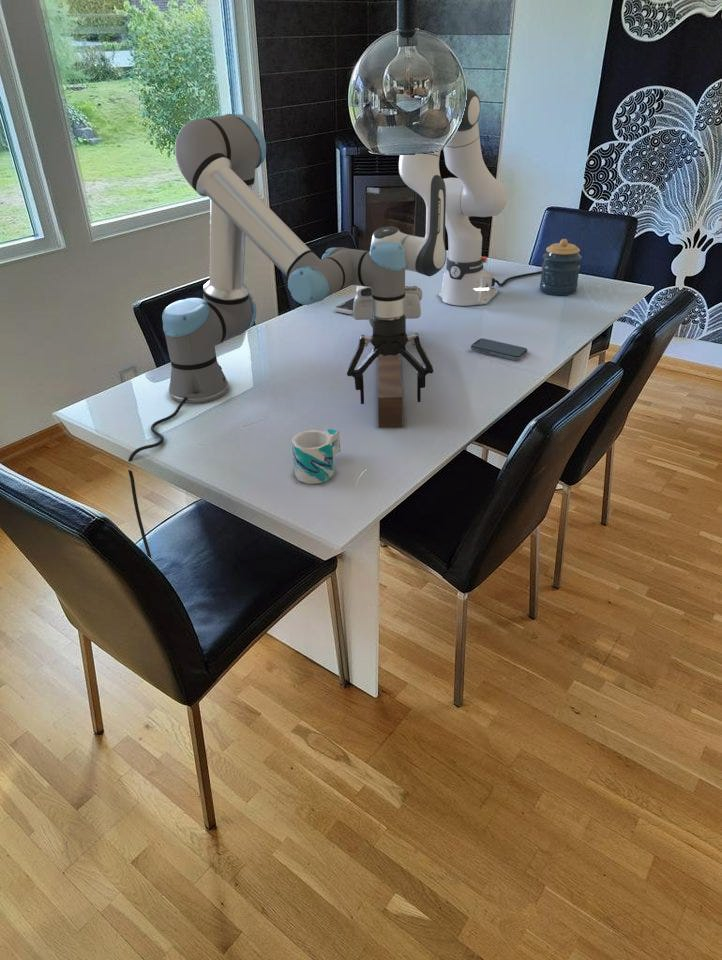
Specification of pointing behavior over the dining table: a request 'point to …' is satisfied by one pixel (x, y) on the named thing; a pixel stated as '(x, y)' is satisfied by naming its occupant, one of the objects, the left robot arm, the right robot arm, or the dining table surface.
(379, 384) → the beam
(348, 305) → the smartphone
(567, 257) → the canister
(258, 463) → the dining table surface
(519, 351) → the smartphone
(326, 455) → the mug
